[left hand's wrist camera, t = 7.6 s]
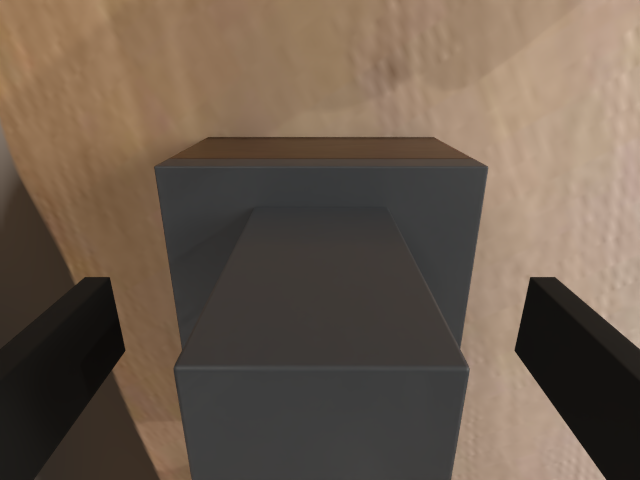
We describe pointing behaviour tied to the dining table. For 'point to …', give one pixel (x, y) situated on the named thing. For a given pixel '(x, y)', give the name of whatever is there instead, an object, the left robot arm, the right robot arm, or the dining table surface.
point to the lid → (321, 313)
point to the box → (321, 148)
